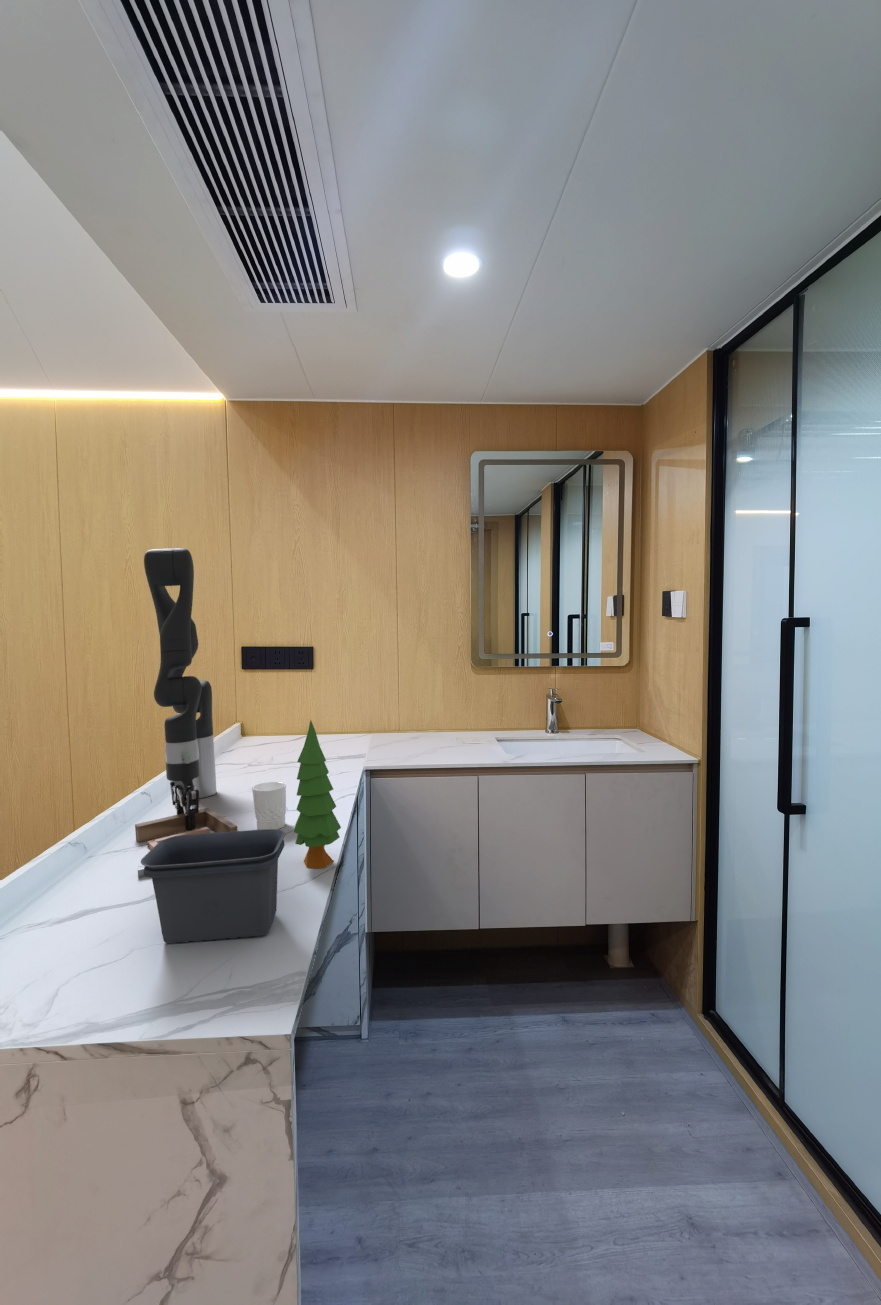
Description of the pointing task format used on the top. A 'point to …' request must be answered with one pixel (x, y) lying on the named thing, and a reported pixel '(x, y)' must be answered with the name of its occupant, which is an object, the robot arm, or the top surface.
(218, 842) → the storage bin
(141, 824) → the wooden l-shaped bracket
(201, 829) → the corral frame
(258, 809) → the white cup
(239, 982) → the top surface
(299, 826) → the decorative tree
